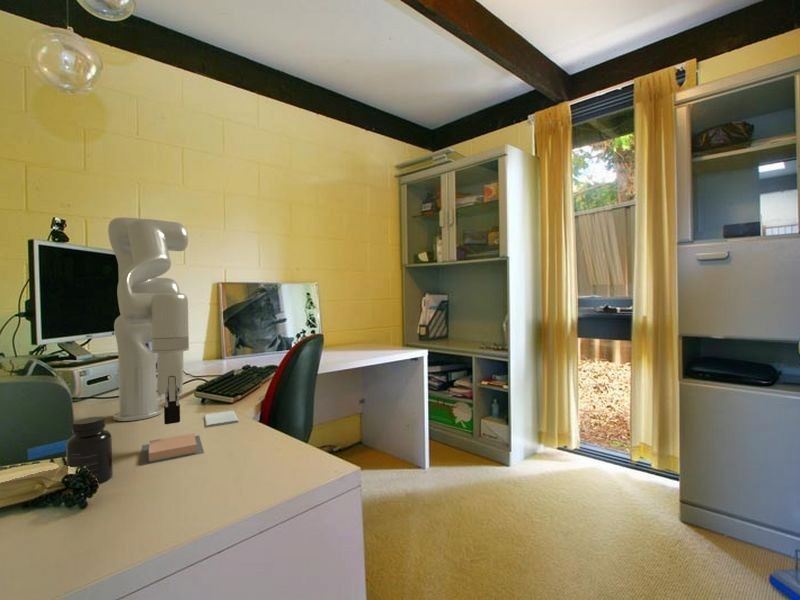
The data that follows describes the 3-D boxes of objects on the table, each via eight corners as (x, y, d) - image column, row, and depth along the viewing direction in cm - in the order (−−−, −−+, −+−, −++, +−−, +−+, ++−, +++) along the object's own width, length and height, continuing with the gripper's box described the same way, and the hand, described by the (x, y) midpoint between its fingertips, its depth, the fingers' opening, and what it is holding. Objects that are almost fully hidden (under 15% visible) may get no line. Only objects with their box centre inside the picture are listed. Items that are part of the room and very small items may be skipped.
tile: (149, 440, 90) (148, 453, 82) (193, 433, 95) (196, 444, 87) (149, 449, 90) (148, 462, 82) (194, 441, 95) (196, 453, 87)
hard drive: (238, 420, 109) (233, 409, 120) (206, 425, 105) (203, 414, 116) (238, 426, 109) (233, 415, 120) (206, 431, 105) (204, 419, 116)
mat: (142, 446, 93) (142, 445, 93) (199, 436, 99) (199, 435, 99) (139, 467, 81) (139, 465, 81) (204, 454, 87) (204, 452, 87)
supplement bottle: (74, 479, 76) (73, 417, 76) (117, 472, 79) (116, 412, 79) (60, 494, 70) (59, 427, 70) (107, 486, 72) (105, 422, 73)
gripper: (152, 343, 97) (153, 417, 97) (151, 349, 84) (153, 434, 84) (186, 341, 101) (188, 412, 101) (190, 346, 88) (192, 427, 88)
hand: (172, 422), depth 92 cm, fingers closed
